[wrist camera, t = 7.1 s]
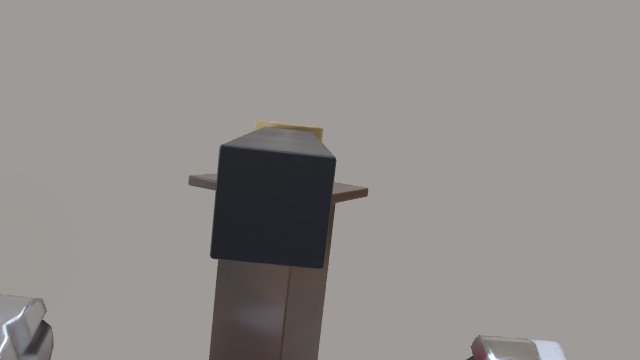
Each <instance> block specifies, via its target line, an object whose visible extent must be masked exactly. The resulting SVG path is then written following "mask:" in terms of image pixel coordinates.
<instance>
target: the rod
mask: <svg viewBox="0 0 640 360" xmlns="http://www.w3.org/2000/svg"><path fill="white" fill-rule="evenodd" d="M322 135H323V128H321V127H316V126H307V125H299V124H290V123H281V122H271V121H260V120H256V121H255V128H254V131H253V132H251V133H249V134H246V135H244V136H242V137H239V138H237V139H235V140H232V141H230V142H228V143H225V144H223V145H221V146H220V150H219V161H218V173H217V183H216V194H215V206H214V217H213V228H212V239H211V251H210V256H211V258H213V259H221V260H231V261H242V262H252V263H263V264H273V265H284V266H294V267H305V268H315V269H322V268H323V267H324V264H325V255H326V246H327V237H328V229H329V220H330V211H331V202H332V194H333V185H334V176H335V167H336V158H335V156H334V155H333V154H332V153H331V152H330V151H329V150H328V149H327V148H326V147H325V145H324V144H323V143H322Z"/></svg>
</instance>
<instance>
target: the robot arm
mask: <svg viewBox="0 0 640 360" xmlns="http://www.w3.org/2000/svg"><path fill="white" fill-rule="evenodd" d="M45 313H46V307H45V304H44V302H43V299H38V298H28V297H20V296H11V295H2V294H0V360H50V358H51V354H52V349H53V332H52V328H51V326H50V325H49V324H47V323H46V322H45V321H44V320H42V319H43V317H44V315H45ZM471 349H472V354H473V356H472V357H470V358H469V359H467V360H566V357H565V354H564V352H563V350H562V347H561V346H560V345H559V344H558V343H557V342H552V341H539V340H528V339H522V338H507V337H495V336H481V335H479V336H478V337H476V338H475V339H474V341H473V343H472V346H471Z"/></svg>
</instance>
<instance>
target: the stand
mask: <svg viewBox="0 0 640 360" xmlns="http://www.w3.org/2000/svg"><path fill="white" fill-rule="evenodd" d="M216 183H217V174H205V175H190V176H189V183H188V184H189V185H191V186H196V187H201V188H206V189H211V190H216ZM367 195H368V188H365V187H359V186H353V185H347V184H341V183H335V182H334V185H333V194H332V202H331V211H330V220H329V229H328V237H327V246H326V255H325V264H324V267H323V268H322V269H315V268H305V267H294V266H284V265H273V264H263V263H252V262H242V261H231V260H221V259H218V268H217V280H216V290H215V301H214V312H213V323H212V334H211V345H210V355H209V360H317V359H318V350H319V341H320V333H321V324H322V315H323V306H324V298H325V289H326V281H327V271H328V263H329V255H330V246H331V237H332V228H333V220H334V211H335V203H338V202H343V201H347V200H352V199H357V198H362V197H367Z"/></svg>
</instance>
